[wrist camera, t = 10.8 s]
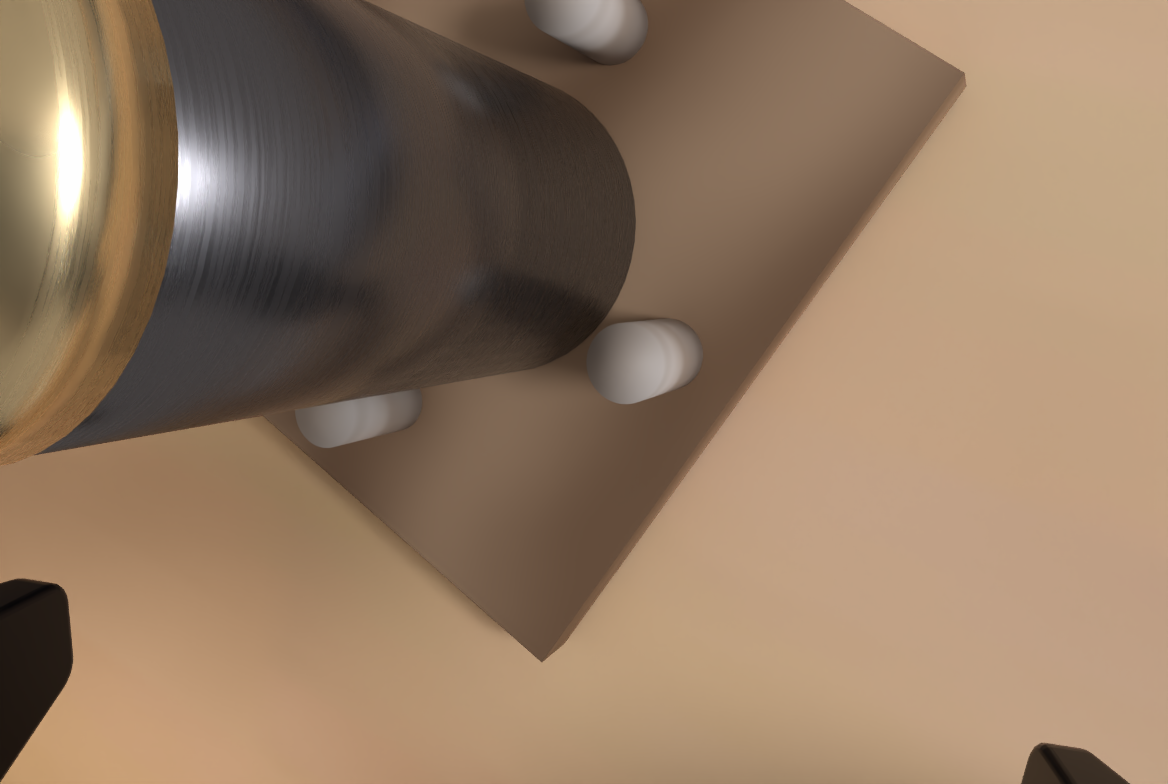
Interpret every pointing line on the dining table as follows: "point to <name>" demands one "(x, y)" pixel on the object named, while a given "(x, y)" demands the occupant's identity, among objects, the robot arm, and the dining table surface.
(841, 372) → the dining table surface
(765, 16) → the peg board
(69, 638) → the robot arm
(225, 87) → the tea tin
